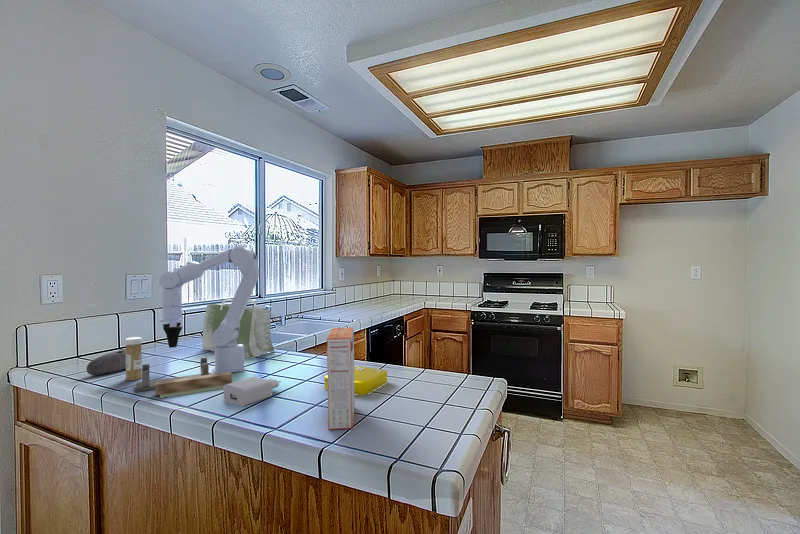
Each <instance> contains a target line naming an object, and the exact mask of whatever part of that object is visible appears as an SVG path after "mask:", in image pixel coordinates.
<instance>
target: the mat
mask: <svg viewBox="0 0 800 534" xmlns="http://www.w3.org/2000/svg"><path fill="white" fill-rule="evenodd" d="M216 390H224V385H220V386H213V387H207V388H200V389H194V390H187V391H181V392H175V393H168V394H162V395H159V399H160V398H161V399H165V398H164V397H168V398H170V397H169V396H174V397H176V396H175V395H180V396H184V395H185V394H186V395H191V393H193V394H199V393H204V392H210V391H216ZM198 392H199V393H198ZM186 395H185V396H186Z"/></svg>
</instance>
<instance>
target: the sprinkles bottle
mask: <svg viewBox="0 0 800 534" xmlns="http://www.w3.org/2000/svg"><path fill="white" fill-rule="evenodd" d="M142 343H143V338H142V336H141V337H140V336H133V337H132V336H131V337H128V338H127V337H126V338H125V340H124V344H125V350H126V369H125V380H126V381H129V382H131V381H137V380H140V379H142V365H143V363H142V361H143V360H142V357H143V354H142ZM130 380H131V381H130Z"/></svg>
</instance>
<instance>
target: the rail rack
mask: <svg viewBox="0 0 800 534" xmlns="http://www.w3.org/2000/svg"><path fill="white" fill-rule="evenodd" d="M209 364H210V363H209V362H208V357H207V356H203V357H200V373H198V374H197V373H196V374H190V375H182V376H176V377H168V378H160V379H154V380H153V379H151V380H150V363H145V364H143V363H142V378H141V381H138V382H136V383H135V388H134V389H135V393H137V392H138V393H139V392H145V391H146V390H147V391H151V389H154V390H156V382H160V381H167V380H174V379H182V378H189V377H196V376H203V375H210V374H213V372H209V369H210V368H209V367H210V365H209ZM147 391H146V392H147Z"/></svg>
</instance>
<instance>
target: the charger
mask: <svg viewBox="0 0 800 534" xmlns="http://www.w3.org/2000/svg"><path fill="white" fill-rule="evenodd" d="M281 382H282V381H281V380H279V381H278V380H277V379H272V378H269V379H264V378H261V377H256V376H252V377H248V378H244V379H241V380H237V381H234V382H233V381H232V383H230V384H226V385H224V389H223V400H224V401H225V402H228V403H231V404H235V405H237V406H241V407H245V406H248V405H251V404H254V403H257V402H260V401H263V400H265V399H268V398H271V397H272V395H273V389H275V388H277V387H280V383H281Z"/></svg>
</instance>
